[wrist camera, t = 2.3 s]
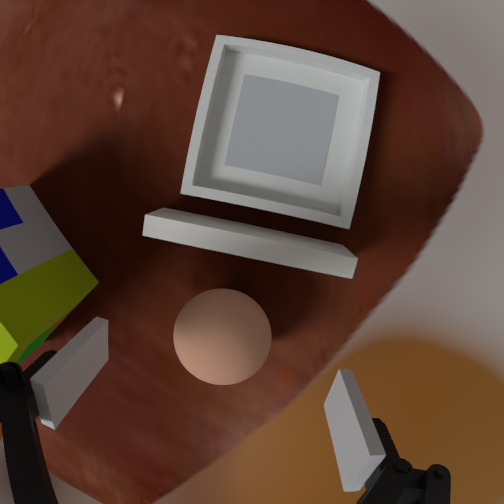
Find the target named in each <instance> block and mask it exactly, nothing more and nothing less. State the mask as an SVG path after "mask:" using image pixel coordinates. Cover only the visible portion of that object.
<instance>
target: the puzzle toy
mask: <svg viewBox="0 0 504 504" xmlns="http://www.w3.org/2000/svg"><path fill="white" fill-rule="evenodd" d="M98 283H99V282H98V280H97V279H96V278H95V277H94V275H93V274H92V273H91V272H90V270H89V269H88V268H87V267H86V265H85V264H84V263H83V261H82V260H81V259H80V257H79V256H78V255H77V254H76V252H75V251H74V250H73V248H72V247H71V245H70V244H69V243H68V241H67V240H66V239H65V237H64V236H63V234H62V233H61V232H60V230H59V229H58V227H57V226H56V225H55V223H54V222H53V220H52V219H51V217H50V216H49V214H48V213H47V211H46V210H45V208H44V207H43V205H42V204H41V202H40V201H39V199H38V198H37V196H36V194H35V193H34V191H33V190H32V188H31V187H30V185H25V186H18V187H10V188H3V189H0V364H1V363H3V362H8V361H10V362H15V363H17V364H20V363H21V362H22V361H23V360H24V359H25V358H26V357H27V356H28V355H30V354H31V353H32V352H33V351H34V350H35V349H36V348H37V347H38V346H40V345H41V344H42V343H43V342H44V341H45V340H46V339H47V338H48V336H49V335H50V334H51V333H52V332H53V331H54V330H55V329H56V327H57V326H58V325H59V324H60V323H61V322H62V321H63V320H64V319H65V318H66V317H67V315H68V314H69V313H70V312H71V311H72V310H73V309H74V308H75V307H76V306H77V305H78V304H79V303H80V302H81V301H82V300H83V298H84V297H85V296H86V295H87V294H88V293H89V292H90V291H91V290H92V289H93V288H94V287H95V286H96V285H97V284H98Z"/></svg>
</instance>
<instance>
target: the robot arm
mask: <svg viewBox="0 0 504 504" xmlns="http://www.w3.org/2000/svg"><path fill="white" fill-rule="evenodd" d="M107 361H108V320H106V319H103V318H99V317H95V318H94V319H93V320H92V321H91V322H90V323H89V324H88V325H87V326H86V327H84V328H83V329H82V330H81V331H80V332H79V333H78V334H77V335H76V336H75V337H74V338H72V339H71V340H70V341H69V342H68V343H67V344H66V345H65V346H64V347H63V348H62V349H61V350H60V351H59V352H56V351H54V350H50V351H47V352H45V353H43V354H42V355H41V356H40V357H39V358H38V359H36V360H35V361H34V362H33V363H32V364H31V365H30V366H29V367H28V368H27V369H26V370H24V371H23V372H22V369H21V366H20V365H19V364H17V363H15V362H10V361H8V362H3V363H1V364H0V422H2V433H3V442H4V450H5V457H6V463H7V469H8V474H9V480H10V484H11V489H12V494H13V498H14V502H15V504H58V501H57V498H56V496H55V492H54V489H53V487H52V483H51V480H50V477H49V473H48V470H47V466H46V463H45V459H44V455H43V451H42V447H41V442H40V438H39V433H38V429H37V424H36V421H35V419H36V418H37V417H38V416H39V415H40V419H41V422H42V423H43V424H45V425H47V426H49V427H50V428H53V429H56V427H57V426H58V425H59V423H60V422H61V421H62V419H63V418H64V417H65V415H66V414H67V413H68V411H69V410H70V409H71V407H72V406H73V405H74V403H75V402H76V401H77V399H78V398H79V397H80V395H81V394H82V393H83V391H84V390H85V389H86V388H87V386H88V385H89V384H90V382H91V381H92V380H93V378H94V377H95V376H96V375H97V373H98V372H99V371H100V370H101V368H102V367H103V366H104V364H105V363H106V362H107ZM324 408H325V412H326V417H327V421H328V425H329V429H330V433H331V437H332V441H333V446H334V450H335V454H336V459H337V463H338V468H339V472H340V477H341V481H342V486H343V490H344V492H346V491H359V490H360V489H361V488H362V486H363V485H364V484H365V487H366V491H365V493H364V494H363V495H362V496H361V497H360V498H359V499H358V501H357V503H356V504H450V490H451V487H450V486H451V475H450V472H449V470H448V469H447V468H446V467H444V466H442V465H440V464H434V465H431V466H430V467H429V468H428V470H419V469H414V468H413V467H412V465H411V464H410V463H409V462H408V461H406V460H405V459H402V458H400V457H399V455H398V452H397V450H396V448H395V445H394V443H393V440H392V439H391V436H390V434H389V431H388V429H387V427H386V425H385V424H384V423H383V422H382V421H381V420H380V419H379V418H371V416H370V413H369V411H368V409H367V406H366V404H365V401H364V399H363V397H362V395H361V392H360V390H359V387H358V385H357V383H356V380H355V378H354V375H353V373H352V371H351V370H344V369H339V370H338V373H337V375H336V378H335V380H334V383H333V385H332V387H331V389H330V392H329V394H328V396H327V399H326V401H325V403H324Z"/></svg>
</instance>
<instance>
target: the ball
mask: <svg viewBox="0 0 504 504" xmlns="http://www.w3.org/2000/svg"><path fill="white" fill-rule="evenodd" d="M271 338H272V335H271V327H270V324H269V320H268V318H267V316H266V314H265V312H264V311H263V309H262V308H261V307H260V305H259V304H258V303H257V302H256V301H254V300H253V299H252V298H250V297H249V296H247V295H246V294H244V293H242V292H239V291H236V290H232V289H223V288H220V289H212V290H208V291H205V292H202V293H200V294H198V295H197V296H195V297H194V298H192V299H191V300H190V301H189V302H188V303H187V304H186V305H185V306H184V307H183V309H182V310H181V311H180V313H179V315H178V317H177V320H176V323H175V327H174V345H175V350H176V353H177V355H178V357H179V359H180V361H181V363H182V364H183V365H184V367H185V368H186V369H187V370H188V371H189V372H190V373H191V374H193V375H194V376H195V377H197V378H199V379H201V380H203V381H205V382H208V383H211V384H217V385H230V384H235V383H238V382H241V381H244V380H246V379H247V378H249V377H251V376H252V375H253V374H255V373H256V372H257V371H258V370H259V369H260V368H261V366H262V365H263V364H264V362H265V360H266V359H267V356H268V354H269V351H270V347H271Z"/></svg>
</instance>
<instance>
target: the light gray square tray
mask: <svg viewBox="0 0 504 504" xmlns="http://www.w3.org/2000/svg"><path fill="white" fill-rule="evenodd" d="M379 77H380V72H378V71H375V70H372V69H370V68H367V67H364V66H361V65H358V64H354V63H351V62H348V61H345V60H341V59H338V58H335V57H331V56H327V55H324V54H320V53H316V52H312V51H308V50H304V49H299V48H295V47H290V46H286V45H281V44H276V43H270V42H265V41H259V40H252V39H246V38H239V37H231V36H222V35H217V36H216V39H215V43H214V46H213V50H212V54H211V57H210V61H209V65H208V68H207V72H206V76H205V80H204V84H203V88H202V92H201V96H200V100H199V105H198V109H197V113H196V118H195V122H194V127H193V131H192V136H191V141H190V146H189V150H188V155H187V160H186V166H185V171H184V176H183V182H182V187H181V193H180V194H186V195H191V196H196V197H202V198H207V199H212V200H217V201H222V202H227V203H232V204H237V205H242V206H247V207H252V208H257V209H262V210H266V211H271V212H276V213H280V214H285V215H289V216H294V217H298V218H303V219H307V220H312V221H316V222H320V223H325V224H329V225H333V226H337V227H342V228H346V229H350V225H351V221H352V217H353V213H354V208H355V204H356V200H357V196H358V191H359V187H360V182H361V178H362V173H363V168H364V164H365V159H366V154H367V149H368V144H369V138H370V133H371V127H372V122H373V116H374V110H375V104H376V97H377V91H378V84H379Z"/></svg>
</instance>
